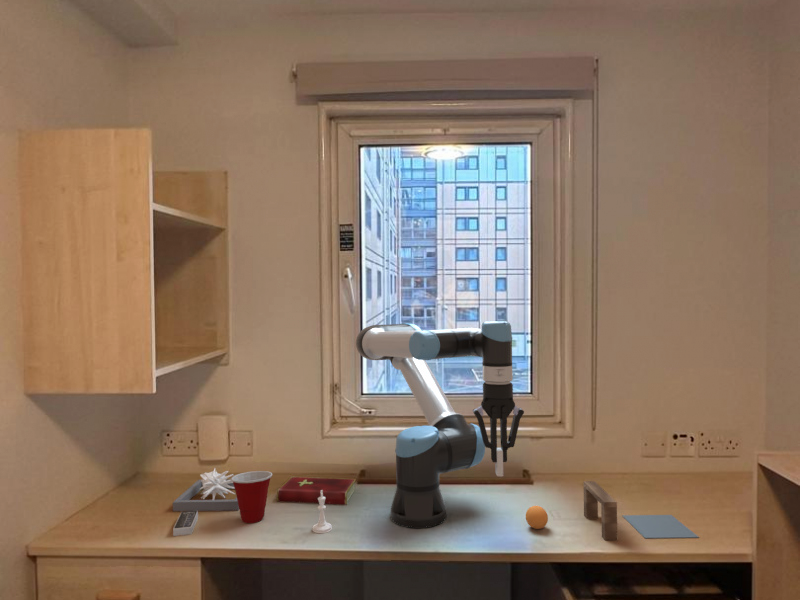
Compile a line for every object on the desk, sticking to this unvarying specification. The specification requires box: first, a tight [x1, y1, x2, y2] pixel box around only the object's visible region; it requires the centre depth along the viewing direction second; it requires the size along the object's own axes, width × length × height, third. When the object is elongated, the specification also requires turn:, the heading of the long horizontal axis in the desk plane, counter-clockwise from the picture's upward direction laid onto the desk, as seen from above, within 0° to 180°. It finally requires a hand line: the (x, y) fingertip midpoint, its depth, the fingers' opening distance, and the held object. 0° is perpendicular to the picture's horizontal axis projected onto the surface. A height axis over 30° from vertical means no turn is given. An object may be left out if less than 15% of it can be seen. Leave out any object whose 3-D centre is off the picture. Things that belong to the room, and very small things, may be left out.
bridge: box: [583, 480, 618, 541], centre depth 133 cm, size 3×14×9 cm, turn 0°
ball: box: [525, 505, 549, 530], centre depth 133 cm, size 6×6×6 cm
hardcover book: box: [276, 475, 357, 506], centre depth 157 cm, size 12×21×4 cm, turn 81°
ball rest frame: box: [172, 478, 240, 512], centre depth 156 cm, size 18×18×2 cm
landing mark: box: [622, 514, 700, 539], centre depth 133 cm, size 13×13×1 cm
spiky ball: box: [199, 467, 236, 500], centre depth 157 cm, size 11×12×8 cm
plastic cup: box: [230, 470, 273, 524], centre depth 141 cm, size 11×11×12 cm
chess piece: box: [312, 490, 333, 534], centre depth 134 cm, size 5×5×10 cm
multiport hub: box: [172, 511, 199, 537], centre depth 137 cm, size 4×11×2 cm, turn 13°
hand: (499, 474), depth 133 cm, fingers closed
